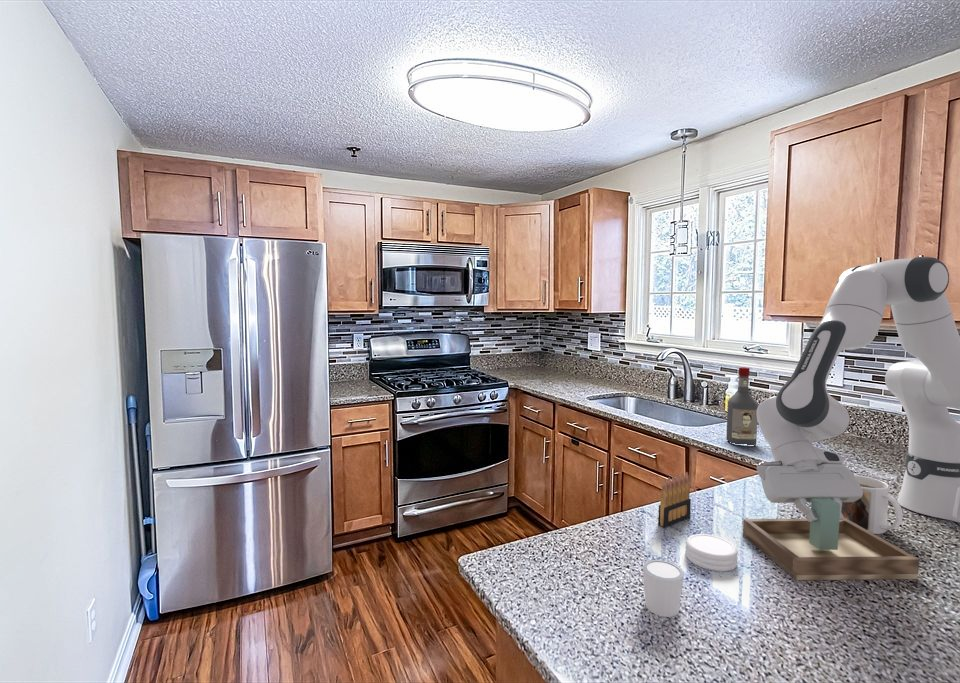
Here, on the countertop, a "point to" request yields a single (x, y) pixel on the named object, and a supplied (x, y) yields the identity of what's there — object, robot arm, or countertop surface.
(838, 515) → the grey-green rectangular block
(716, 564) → the white round disc stack
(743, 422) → the liquor
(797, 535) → the wooden serving tray
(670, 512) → the ammunition clip
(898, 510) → the mug
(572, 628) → the countertop surface
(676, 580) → the white cylinder
